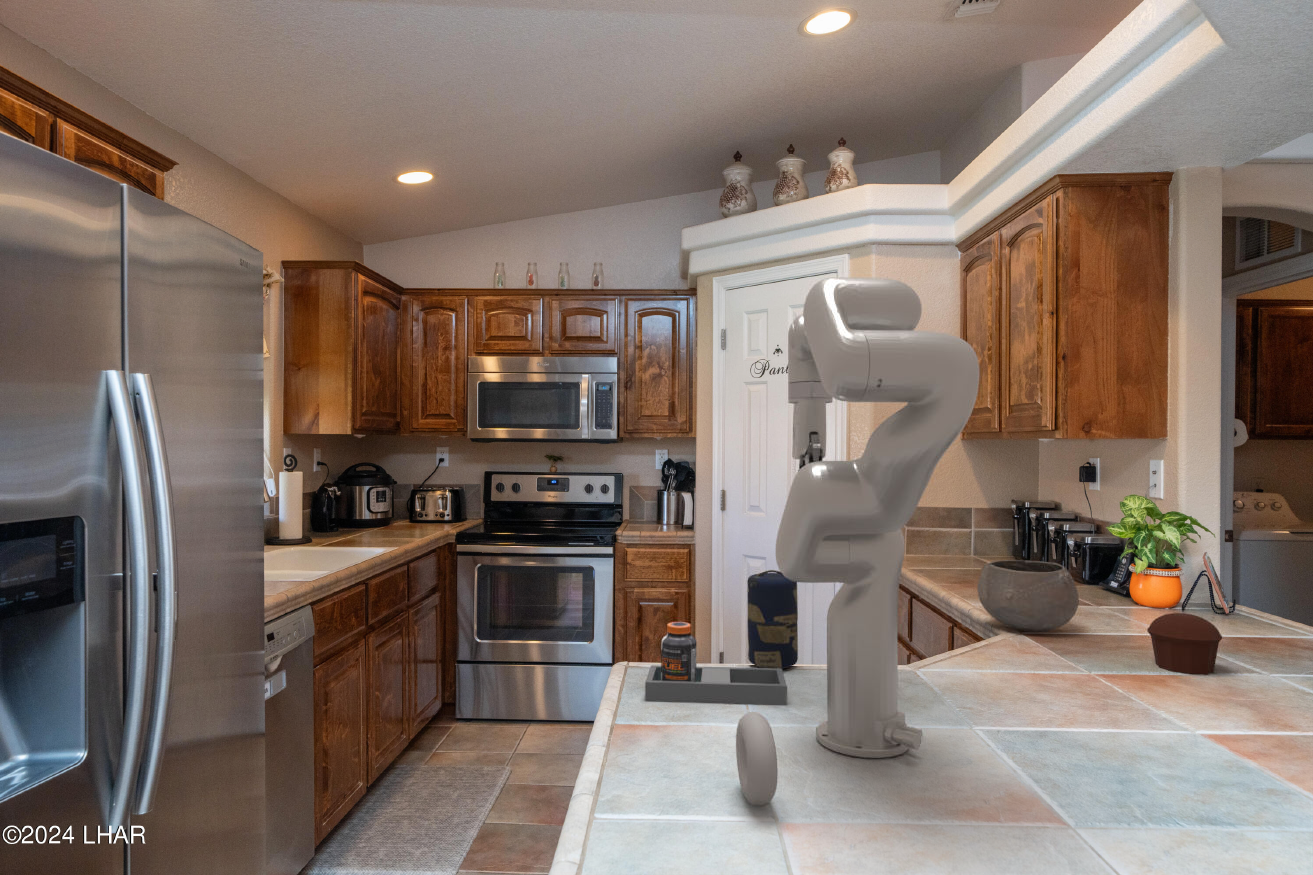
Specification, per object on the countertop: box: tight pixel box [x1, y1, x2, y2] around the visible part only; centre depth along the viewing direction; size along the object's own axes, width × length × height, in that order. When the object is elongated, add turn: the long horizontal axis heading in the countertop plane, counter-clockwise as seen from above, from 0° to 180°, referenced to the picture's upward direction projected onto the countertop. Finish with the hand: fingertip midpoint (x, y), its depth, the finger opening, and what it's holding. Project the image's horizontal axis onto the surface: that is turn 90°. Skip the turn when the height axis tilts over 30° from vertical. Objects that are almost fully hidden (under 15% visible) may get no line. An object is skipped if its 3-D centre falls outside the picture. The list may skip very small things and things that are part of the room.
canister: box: [746, 569, 799, 669], centre depth 144 cm, size 10×10×18 cm
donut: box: [735, 711, 779, 807], centre depth 87 cm, size 10×4×10 cm, turn 5°
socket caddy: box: [644, 664, 788, 706], centre depth 127 cm, size 23×10×3 cm, turn 85°
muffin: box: [1147, 612, 1223, 676], centre depth 143 cm, size 12×11×10 cm
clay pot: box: [976, 559, 1080, 632], centre depth 176 cm, size 21×21×15 cm
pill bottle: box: [660, 621, 698, 682], centre depth 127 cm, size 6×6×11 cm
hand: (810, 493), depth 130 cm, fingers open, 9 cm apart
